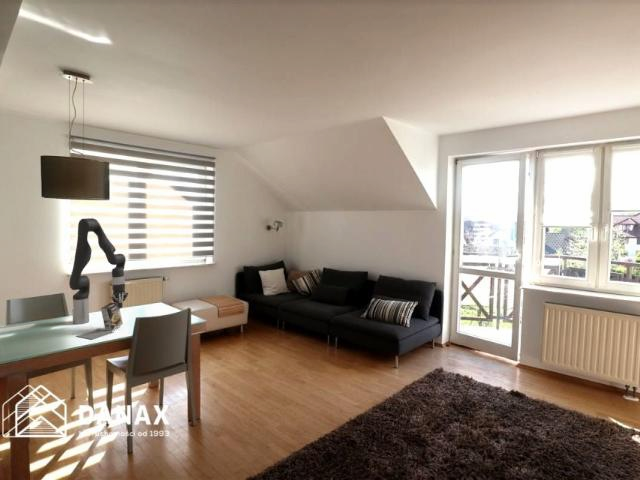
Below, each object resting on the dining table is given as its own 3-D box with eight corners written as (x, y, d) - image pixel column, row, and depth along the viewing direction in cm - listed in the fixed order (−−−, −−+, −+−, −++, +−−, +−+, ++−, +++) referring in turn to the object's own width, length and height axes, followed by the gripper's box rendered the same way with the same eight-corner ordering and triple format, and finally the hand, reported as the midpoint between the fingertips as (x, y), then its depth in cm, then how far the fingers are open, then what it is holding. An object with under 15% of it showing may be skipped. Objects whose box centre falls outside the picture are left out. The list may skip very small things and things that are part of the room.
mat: (76, 336, 223) (76, 336, 223) (98, 329, 237) (98, 328, 237) (92, 339, 218) (92, 339, 218) (113, 332, 232) (113, 331, 232)
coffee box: (113, 331, 235) (108, 309, 230) (105, 329, 236) (100, 308, 232) (123, 324, 243) (118, 302, 238) (115, 323, 245) (110, 301, 240)
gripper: (122, 281, 248) (124, 305, 250) (105, 284, 236) (107, 310, 237) (130, 281, 246) (132, 306, 247) (114, 285, 233) (115, 311, 235)
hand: (120, 308), depth 242 cm, fingers closed
